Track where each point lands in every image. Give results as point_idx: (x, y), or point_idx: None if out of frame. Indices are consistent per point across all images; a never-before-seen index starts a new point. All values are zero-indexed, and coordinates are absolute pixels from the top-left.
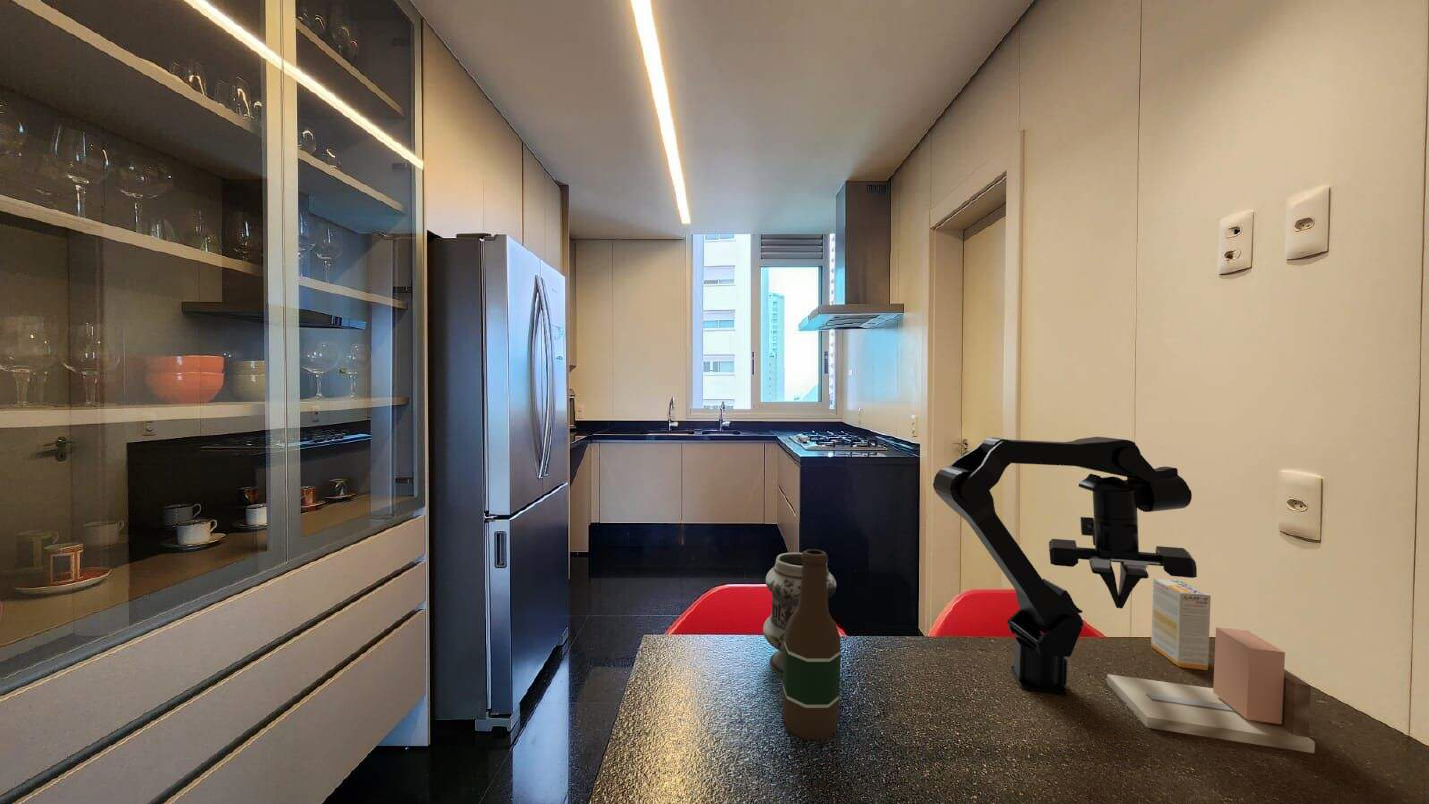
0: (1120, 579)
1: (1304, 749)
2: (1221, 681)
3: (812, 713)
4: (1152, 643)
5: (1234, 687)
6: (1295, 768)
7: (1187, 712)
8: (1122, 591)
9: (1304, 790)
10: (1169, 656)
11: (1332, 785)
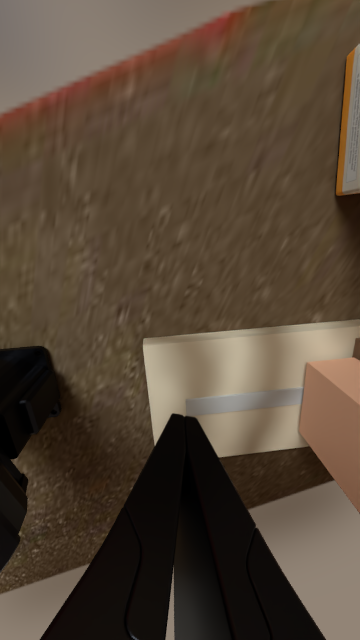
0: (211, 631)
1: None
2: (324, 400)
3: None
4: (354, 58)
5: (325, 434)
6: (292, 466)
7: (225, 430)
8: (176, 599)
9: (270, 499)
10: (344, 155)
11: (307, 481)
